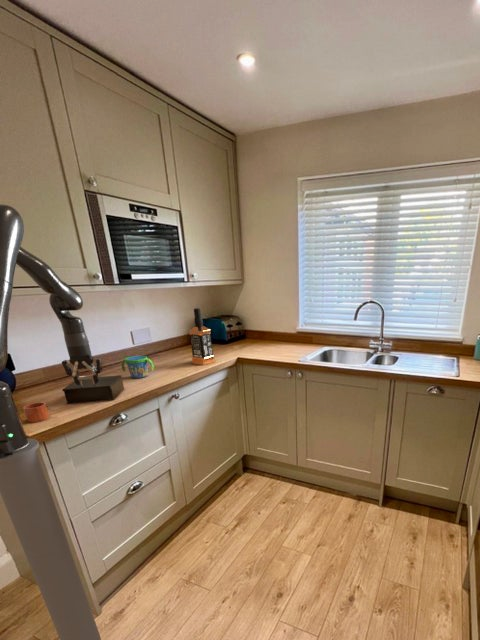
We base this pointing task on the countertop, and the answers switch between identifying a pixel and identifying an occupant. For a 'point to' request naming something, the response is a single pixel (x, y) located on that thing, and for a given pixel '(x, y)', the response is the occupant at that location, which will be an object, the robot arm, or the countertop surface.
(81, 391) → the black box base
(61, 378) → the countertop surface
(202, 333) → the whiskey bottle
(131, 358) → the snack cup
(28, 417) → the orange clay pot
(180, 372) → the countertop surface
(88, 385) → the lid
